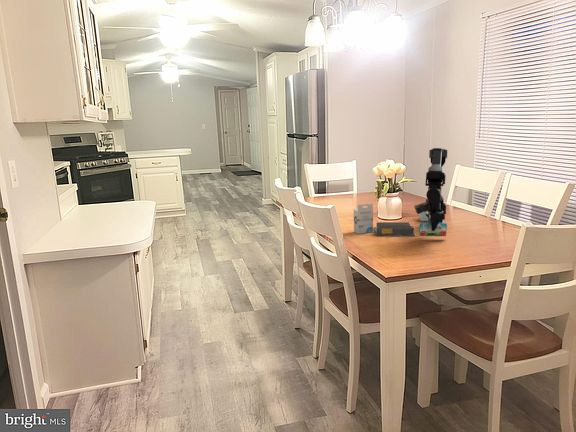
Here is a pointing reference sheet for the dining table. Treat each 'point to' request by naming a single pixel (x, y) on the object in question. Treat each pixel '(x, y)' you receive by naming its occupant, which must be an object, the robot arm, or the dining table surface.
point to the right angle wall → (424, 216)
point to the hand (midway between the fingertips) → (432, 230)
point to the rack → (394, 229)
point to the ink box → (363, 219)
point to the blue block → (427, 230)
